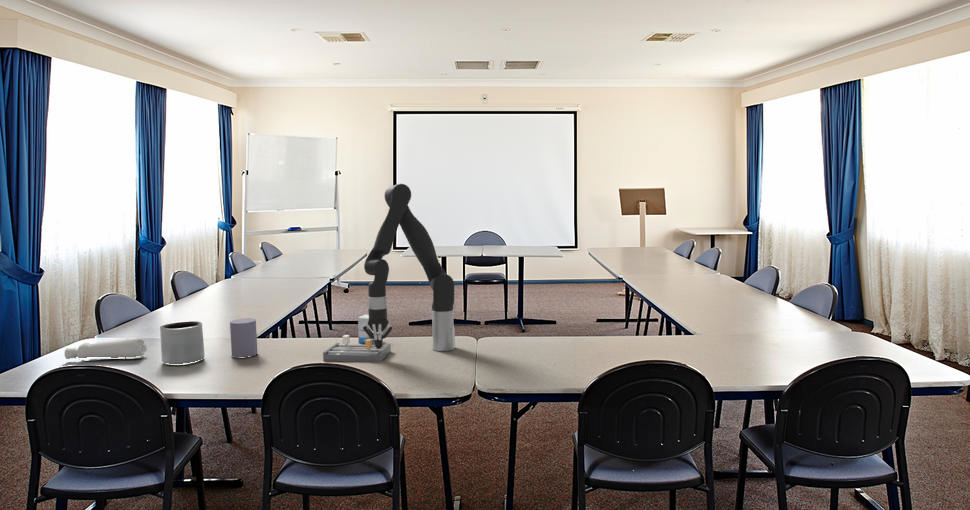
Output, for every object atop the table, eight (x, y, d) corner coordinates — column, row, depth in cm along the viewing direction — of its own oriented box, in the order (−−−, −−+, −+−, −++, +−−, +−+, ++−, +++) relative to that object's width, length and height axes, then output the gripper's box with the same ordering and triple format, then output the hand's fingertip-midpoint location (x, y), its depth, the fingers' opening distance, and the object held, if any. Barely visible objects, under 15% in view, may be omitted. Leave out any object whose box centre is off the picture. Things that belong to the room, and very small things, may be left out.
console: (390, 351, 276) (390, 343, 276) (380, 361, 261) (380, 353, 260) (336, 350, 279) (336, 342, 279) (323, 360, 263) (322, 352, 263)
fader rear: (349, 346, 275) (349, 334, 275) (347, 348, 272) (347, 336, 272) (345, 346, 275) (344, 334, 275) (343, 348, 272) (342, 336, 272)
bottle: (149, 347, 278) (75, 352, 274) (143, 332, 272) (67, 338, 268) (143, 363, 271) (67, 369, 267) (137, 348, 265) (59, 354, 261)
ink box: (368, 343, 291) (367, 318, 290) (358, 343, 292) (357, 317, 291) (375, 339, 300) (374, 314, 299) (365, 338, 301) (364, 314, 300)
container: (262, 355, 274) (260, 320, 272) (238, 360, 267) (236, 324, 265) (250, 351, 281) (248, 317, 279) (227, 355, 274) (225, 321, 272)
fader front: (372, 351, 267) (371, 339, 266) (370, 352, 264) (369, 340, 263) (367, 350, 267) (367, 339, 267) (365, 352, 264) (365, 340, 264)
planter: (213, 358, 270) (211, 321, 269) (184, 368, 255) (181, 330, 254) (183, 355, 276) (180, 319, 274) (152, 365, 260) (150, 327, 259)
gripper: (395, 305, 266) (396, 346, 268) (364, 305, 267) (366, 346, 269) (391, 308, 258) (392, 351, 260) (359, 308, 260) (360, 350, 262)
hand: (378, 348), depth 265 cm, fingers closed
